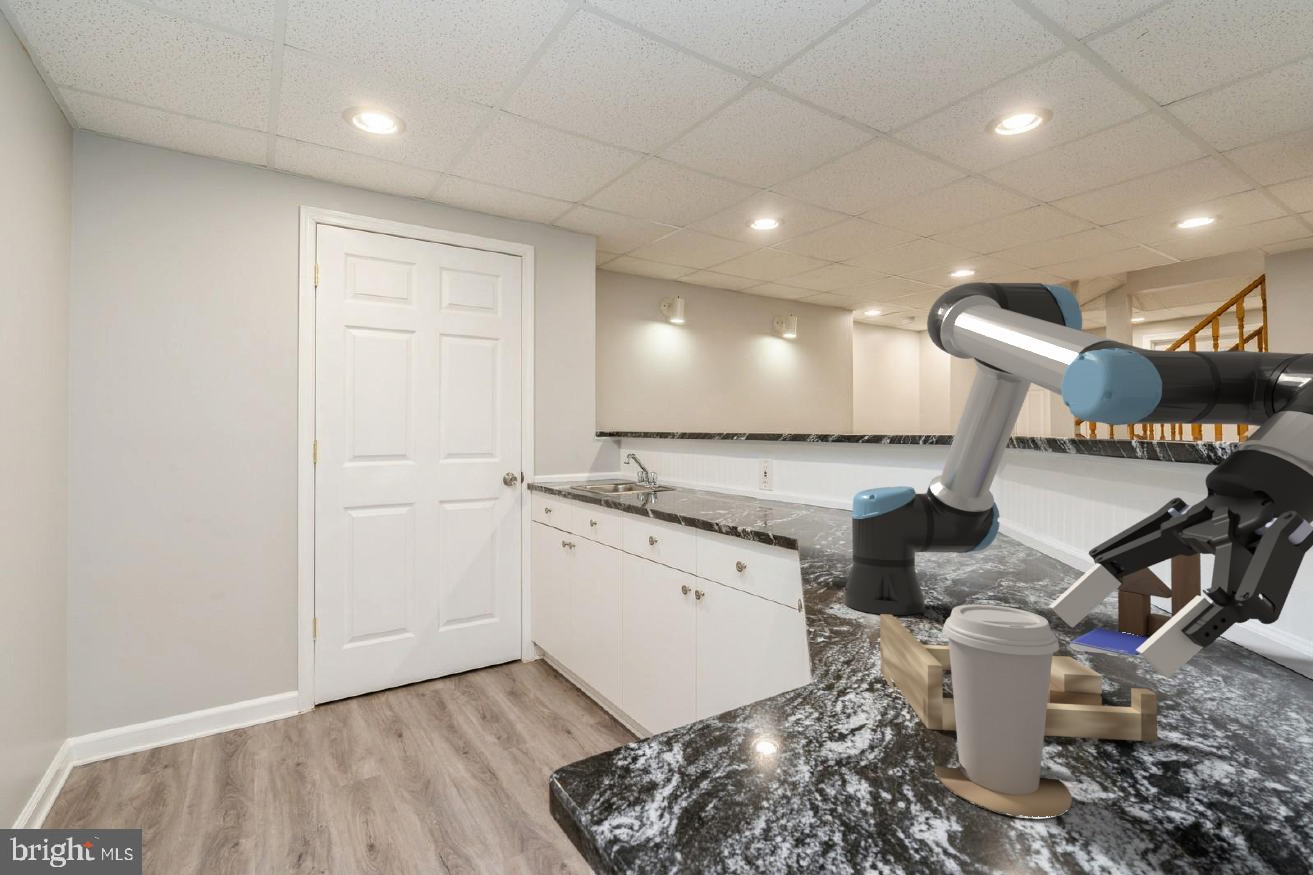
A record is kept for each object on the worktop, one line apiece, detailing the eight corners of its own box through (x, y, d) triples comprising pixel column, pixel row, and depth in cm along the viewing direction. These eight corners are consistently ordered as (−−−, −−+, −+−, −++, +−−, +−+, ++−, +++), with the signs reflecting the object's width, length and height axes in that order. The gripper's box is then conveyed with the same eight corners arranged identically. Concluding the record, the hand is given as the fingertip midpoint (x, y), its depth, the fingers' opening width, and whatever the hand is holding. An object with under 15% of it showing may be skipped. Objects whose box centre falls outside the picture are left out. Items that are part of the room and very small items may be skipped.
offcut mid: (1049, 707, 70) (1049, 689, 70) (1035, 683, 77) (1035, 667, 77) (1101, 714, 68) (1101, 696, 68) (1082, 689, 75) (1082, 673, 76)
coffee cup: (939, 786, 55) (940, 620, 55) (944, 741, 64) (944, 597, 64) (1065, 817, 51) (1066, 637, 51) (1052, 764, 59) (1053, 610, 59)
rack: (927, 740, 65) (927, 665, 65) (880, 671, 85) (880, 614, 85) (1157, 753, 62) (1156, 675, 62) (1052, 679, 82) (1052, 620, 82)
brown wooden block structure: (1126, 628, 106) (1126, 525, 106) (1206, 646, 97) (1205, 532, 97) (1117, 632, 104) (1116, 526, 104) (1197, 650, 95) (1196, 534, 95)
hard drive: (1133, 655, 89) (1156, 638, 97) (1069, 640, 96) (1095, 626, 103) (1133, 665, 89) (1156, 648, 97) (1069, 650, 96) (1095, 636, 103)
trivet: (909, 770, 59) (909, 766, 59) (980, 744, 64) (980, 740, 64) (1024, 834, 49) (1024, 829, 49) (1097, 797, 54) (1097, 793, 54)
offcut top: (1064, 691, 70) (1064, 673, 70) (1035, 671, 76) (1035, 655, 76) (1101, 693, 69) (1101, 675, 69) (1070, 672, 76) (1070, 656, 76)
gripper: (1491, 523, 41) (1248, 732, 43) (1206, 494, 66) (1059, 627, 68) (1401, 445, 42) (1165, 653, 44) (1152, 445, 67) (1008, 578, 68)
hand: (1100, 638), depth 56 cm, fingers open, 13 cm apart
